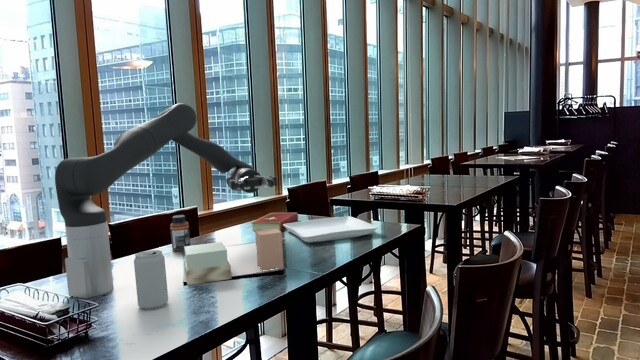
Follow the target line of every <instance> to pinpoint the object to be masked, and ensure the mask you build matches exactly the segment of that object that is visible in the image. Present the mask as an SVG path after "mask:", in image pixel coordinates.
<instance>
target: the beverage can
mask: <svg viewBox="0 0 640 360" xmlns="http://www.w3.org/2000/svg"><path fill="white" fill-rule="evenodd" d="M134 256H135V257H134V260H133V267H134V275H135V276H134V277H135V286H136V296H137V297H136V298H137V306H138V307H139V308H141V309H143V310H157V309H160V308H162V307H165V305H166V304H167V303H168V302H169V294H168V293H169V292H168V283H167V282H168V281H167V272H166V259H165V255H164V254H163V251H162V250H159V249H151V250H144V251H140V252H138V253H137V252H136V253H135V254H134Z"/></svg>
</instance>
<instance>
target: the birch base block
mask: <svg viewBox="0 0 640 360" xmlns="http://www.w3.org/2000/svg"><path fill="white" fill-rule="evenodd" d="M183 264H184V266H183V267H184V274H185V275H186V276H185V275H184V276H185V279H186V280H185V281H186V284H187V286H190V285H198V284H204V283H212V282H217V281H225V280H233V279H232V269H231V268H232V267H231V263H230V261H228V265H224V266H217V267H209V268H202V269H195V270H188V269H187V265H186V261H185V260H183Z"/></svg>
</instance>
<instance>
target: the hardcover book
mask: <svg viewBox="0 0 640 360" xmlns="http://www.w3.org/2000/svg"><path fill="white" fill-rule="evenodd" d="M294 222H299V214H298V212H270V213H268V214H266V215H264V216H262V217H259V218H258V219H256V220H255V219H254V220H253V221H251V222H250V224H252V225H251V226H252V231H253V232H255V231H259V230H268V229H278V230H279V231H280V232H282V231H284V230H285V229H286V227H285V226H283V224H287V223H294Z"/></svg>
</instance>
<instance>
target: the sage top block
mask: <svg viewBox="0 0 640 360" xmlns="http://www.w3.org/2000/svg"><path fill="white" fill-rule="evenodd" d="M184 249H185V251H184V259H185V260H184V261H186V265H187V269H188V270H195V269H202V268H209V267H217V266H224V265H228V262H229V259H228V250H227V248H226V247H225V245H224V243H223V242H222V241H218V242H210V243H201V244H194V245H190V246H184Z"/></svg>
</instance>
